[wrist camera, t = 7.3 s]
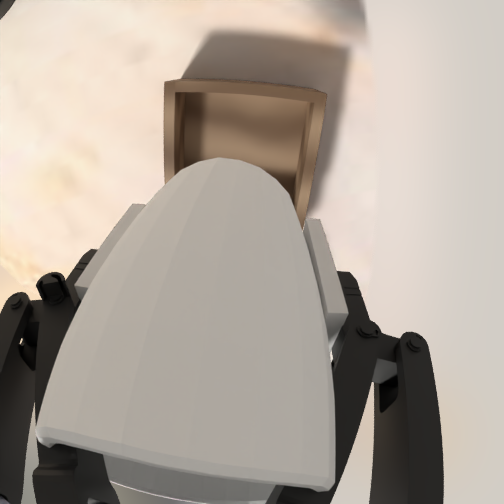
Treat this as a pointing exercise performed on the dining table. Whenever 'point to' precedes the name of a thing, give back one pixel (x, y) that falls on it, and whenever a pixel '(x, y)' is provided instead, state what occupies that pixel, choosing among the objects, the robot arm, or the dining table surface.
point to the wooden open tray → (245, 129)
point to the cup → (202, 348)
